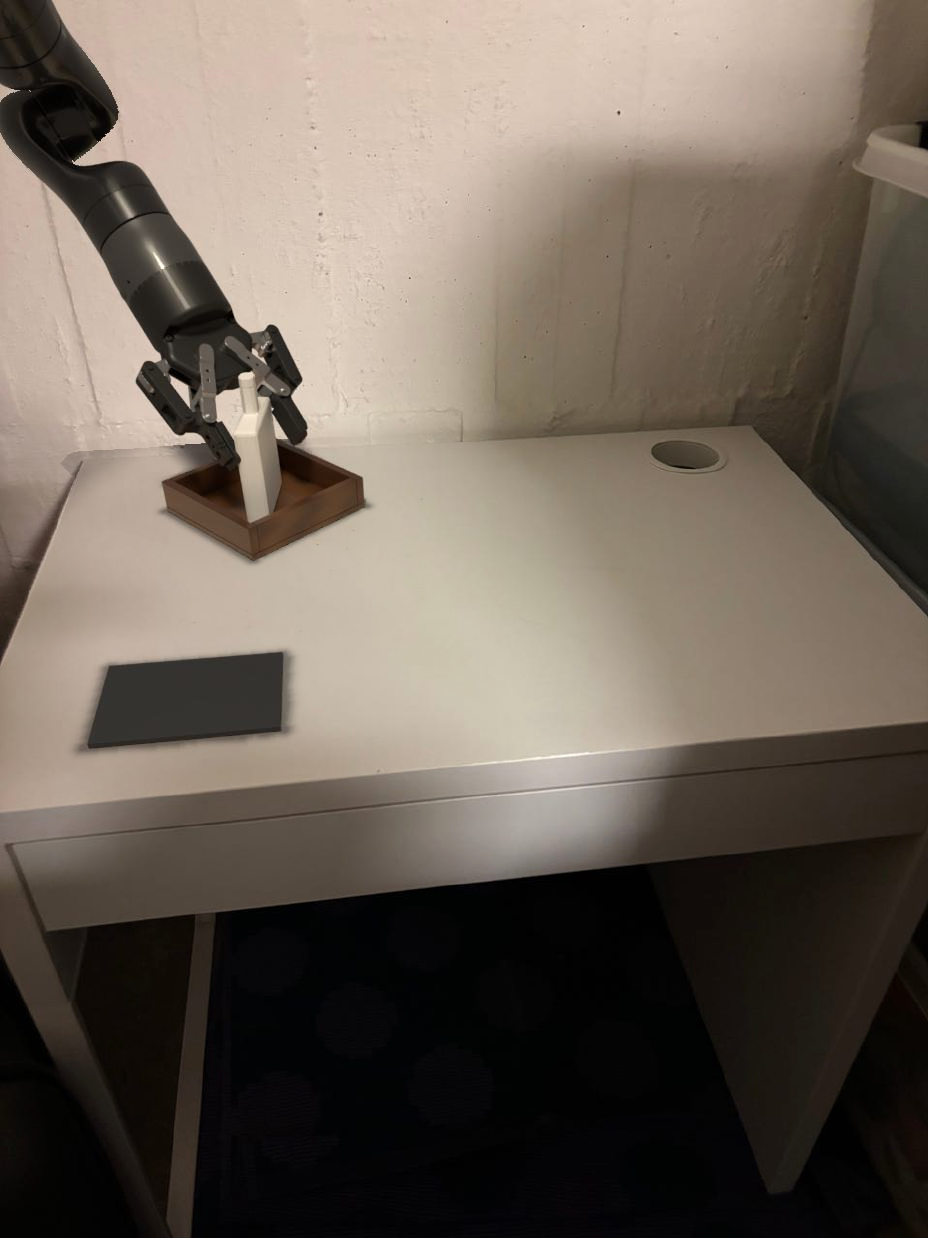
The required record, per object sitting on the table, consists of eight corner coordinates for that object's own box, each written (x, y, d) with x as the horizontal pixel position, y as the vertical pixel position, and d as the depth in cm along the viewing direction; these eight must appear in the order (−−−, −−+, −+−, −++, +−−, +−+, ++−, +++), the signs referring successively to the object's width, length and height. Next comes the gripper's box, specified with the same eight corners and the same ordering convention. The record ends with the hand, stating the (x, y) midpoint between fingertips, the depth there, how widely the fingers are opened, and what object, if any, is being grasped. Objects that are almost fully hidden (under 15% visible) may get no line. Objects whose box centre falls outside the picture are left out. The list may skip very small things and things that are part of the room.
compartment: (253, 560, 77) (248, 529, 75) (167, 510, 84) (161, 481, 82) (364, 506, 84) (363, 476, 83) (277, 465, 91) (274, 436, 90)
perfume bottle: (261, 483, 87) (241, 358, 80) (282, 482, 87) (265, 357, 80) (247, 526, 80) (224, 394, 73) (270, 525, 80) (250, 393, 73)
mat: (88, 748, 58) (86, 743, 58) (110, 670, 65) (108, 665, 65) (280, 731, 60) (280, 726, 60) (283, 656, 66) (282, 651, 66)
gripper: (100, 276, 72) (214, 461, 72) (250, 242, 81) (351, 407, 81) (81, 329, 78) (186, 500, 78) (222, 292, 87) (317, 445, 87)
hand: (270, 452), depth 80 cm, fingers closed on perfume bottle, 6 cm apart
